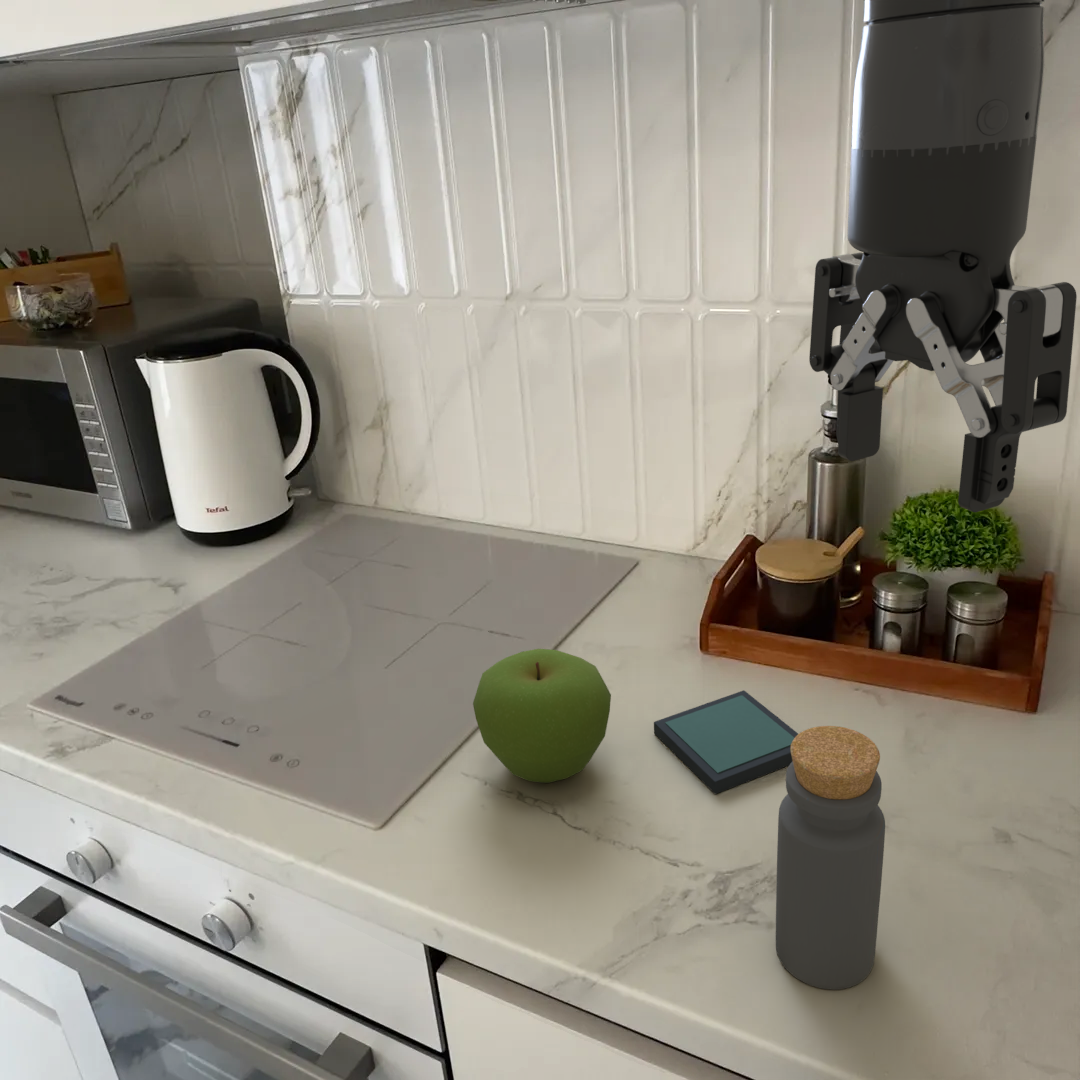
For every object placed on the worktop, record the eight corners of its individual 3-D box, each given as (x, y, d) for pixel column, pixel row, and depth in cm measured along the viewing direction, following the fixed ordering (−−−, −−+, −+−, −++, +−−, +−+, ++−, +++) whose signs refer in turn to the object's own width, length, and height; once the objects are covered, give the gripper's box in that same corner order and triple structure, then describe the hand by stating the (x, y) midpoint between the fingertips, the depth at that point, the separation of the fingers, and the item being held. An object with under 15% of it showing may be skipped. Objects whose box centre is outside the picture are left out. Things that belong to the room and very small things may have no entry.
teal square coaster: (744, 701, 84) (744, 688, 84) (811, 756, 77) (812, 743, 76) (653, 733, 81) (653, 720, 81) (715, 794, 73) (714, 780, 73)
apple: (641, 774, 76) (636, 665, 72) (529, 831, 71) (516, 718, 67) (563, 712, 85) (555, 612, 81) (458, 760, 80) (443, 655, 76)
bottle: (792, 902, 63) (798, 709, 57) (885, 934, 60) (902, 734, 54) (761, 968, 59) (765, 766, 53) (860, 1005, 56) (876, 796, 50)
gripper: (1154, 122, 38) (1092, 508, 44) (895, 126, 50) (877, 429, 56) (1007, 143, 35) (965, 548, 42) (772, 141, 47) (768, 456, 54)
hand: (914, 479), depth 49 cm, fingers open, 8 cm apart
